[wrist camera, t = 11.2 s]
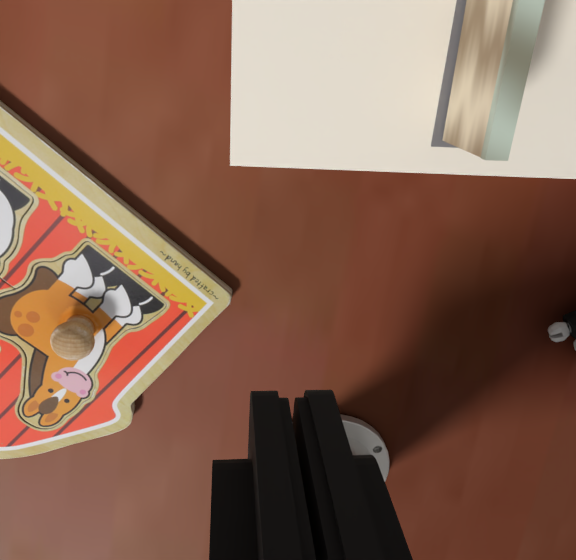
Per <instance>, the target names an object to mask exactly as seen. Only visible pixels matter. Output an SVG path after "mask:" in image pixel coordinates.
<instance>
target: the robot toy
mask: <svg viewBox="0 0 576 560" xmlns="http://www.w3.org/2000/svg"><path fill="white" fill-rule="evenodd" d="M548 333H549V334H550V335H549V338H550V339H551V340H552V341H555V342H559V341H564V340H565V339H566V338H567V337H568V336H569V335H570V334H571V336H573V337H574V338H575V339H576V310H575V311H573V312H570V313H568V314H565V315H563V322H555V323H554V324H552V325H550V326H549V328H548ZM574 348H575V350H576V340H575V341H574Z"/></svg>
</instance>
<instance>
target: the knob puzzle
mask: <svg viewBox="0 0 576 560" xmlns="http://www.w3.org/2000/svg"><path fill="white" fill-rule="evenodd" d="M231 298H232V289H231V288H230V287H229V286H228V285H227V284H225V283H224V282H223V281H222V280H221V279H219V278H218V277H217V276H216V275H215V274H213V273H212V272H211V271H210V270H208V269H207V268H206V267H205V266H204V265H202V264H201V263H200V262H199V261H197V260H196V259H195V258H194V257H192V256H191V255H190V254H189V253H188V252H186V251H185V250H184V249H183V248H181V247H180V246H179V245H178V244H176V243H175V242H174V241H173V240H171V239H170V238H169V237H168V236H166V235H165V234H164V233H163V232H162V231H160V230H159V229H158V228H157V227H155V226H154V225H153V224H152V223H150V222H149V221H148V220H147V219H146V218H144V217H143V216H142V215H141V214H139V213H138V212H137V211H136V210H135V209H133V208H132V207H131V206H130V205H128V204H127V203H126V202H125V201H124V200H122V199H121V198H120V197H119V196H117V195H116V194H115V193H114V192H112V191H111V190H110V189H109V188H107V187H106V186H105V185H104V184H103V183H101V182H100V181H99V180H98V179H96V178H95V177H94V176H93V175H92V174H90V173H89V172H88V171H87V170H85V169H84V168H83V167H82V166H80V165H79V164H78V163H77V162H76V161H74V160H73V159H72V158H71V157H69V156H68V155H67V154H66V153H64V152H63V151H62V150H61V149H60V148H58V147H57V146H56V145H55V144H53V143H52V142H51V141H50V140H48V139H47V138H46V137H45V136H44V135H42V134H41V133H40V132H39V131H37V130H36V129H35V128H34V127H32V126H31V125H30V124H29V123H28V122H26V121H25V120H24V119H23V118H21V117H20V116H19V115H18V114H17V113H15V112H14V111H13V110H12V109H10V108H9V107H8V106H7V105H5V104H4V103H3V102H2V101H1V100H0V459H9V458H18V457H26V456H31V455H36V454H41V453H44V452H48V451H51V450H55V449H58V448H62V447H65V446H68V445H72V444H75V443H79V442H83V441H87V440H91V439H95V438H99V437H102V436H106V435H109V434H112V433H115V432H118V431H121V430H123V429H125V428H126V427H128V426H129V424H130V423H131V421H132V418H133V414H134V409H135V403H134V401H135V400H136V399H137V398H138V397H139V396H140V395H141V394H142V393H143V392H144V391H145V390H146V389H147V388H148V386H149V385H150V384H151V383H152V382H153V381H154V380H155V379H156V378H157V377H158V376H159V375H160V374H161V373H162V372H163V371H164V370H165V369H166V368H167V367H168V366H169V365H170V364H171V363H172V362H173V361H174V360H175V359H176V358H177V357H178V356H179V355H180V354H181V353H182V352H183V351H184V350H185V349H186V348H187V347H188V345H189V344H190V343H191V342H192V341H193V340H194V339H195V338H196V337H197V336H198V335H199V334H200V333H201V332H202V331H203V330H204V329H205V328H206V327H207V326H208V325H209V324H210V323H211V322H212V321H213V320H214V319H215V318H216V317H217V316H218V315H219V314H220V313H221V312H222V311H223V310H224V309H225V308H226V307H227V306H228V305H229V304H230V301H231Z"/></svg>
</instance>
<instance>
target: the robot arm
mask: <svg viewBox="0 0 576 560" xmlns="http://www.w3.org/2000/svg"><path fill="white" fill-rule="evenodd" d="M389 464H390V460H389V455H388V451H387V448H386V446H385V443H384V441H383V439H382V438H381V436H380V434H379V433H378V432H377V431H376V430H375V429H374V428H373V427H372V426H370V425H369V424H367V423H366V422H364V421H362V420H360V419H357V418H354V417H352V416H347V415H342V414H340V412H339V409H338V406H337V402H336V399H335V396H334V393H333V391H332V390H306V391H305V393H304V397H303V398H295V402H294V413H293V422H292V417H291V412H290V406H289V400H288V398H279V396H278V392H277V391H251V394H250V416H249V442H248V459H232V460H213V466H212V495H211V524H210V553H209V560H413V559H412V556H411V554H410V551H409V548H408V545H407V543H406V540H405V537H404V534H403V532H402V529H401V526H400V523H399V520H398V518H397V515H396V512H395V509H394V507H393V504H392V501H391V498H390V495H389V493H388V490H387V487H386V484H385V481H386V478H387V475H388V472H389Z"/></svg>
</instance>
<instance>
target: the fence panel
mask: <svg viewBox="0 0 576 560" xmlns="http://www.w3.org/2000/svg"><path fill="white" fill-rule="evenodd" d="M544 3H545V0H467V1H466V7H465V13H464V18H463V24H462V30H461V36H460V42H459V47H458V53H457V59H456V65H455V70H454V76H453V82H452V88H451V94H450V99H449V105H448V111H447V117H446V122H445V128H444V134H443V140H442V141H445V142H447V143H449V144H451V145H454V146H456V147H458V148H460V149H463V150H465V151H467V152H469V153H471V154H474V155H476V156H478V157H480V158H481V159H483V160H494V161H508V159H509V154H510V150H511V146H512V141H513V137H514V133H515V128H516V124H517V120H518V115H519V111H520V107H521V102H522V98H523V94H524V89H525V85H526V81H527V76H528V72H529V68H530V63H531V59H532V55H533V50H534V46H535V42H536V37H537V33H538V29H539V24H540V20H541V16H542V11H543V7H544Z"/></svg>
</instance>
